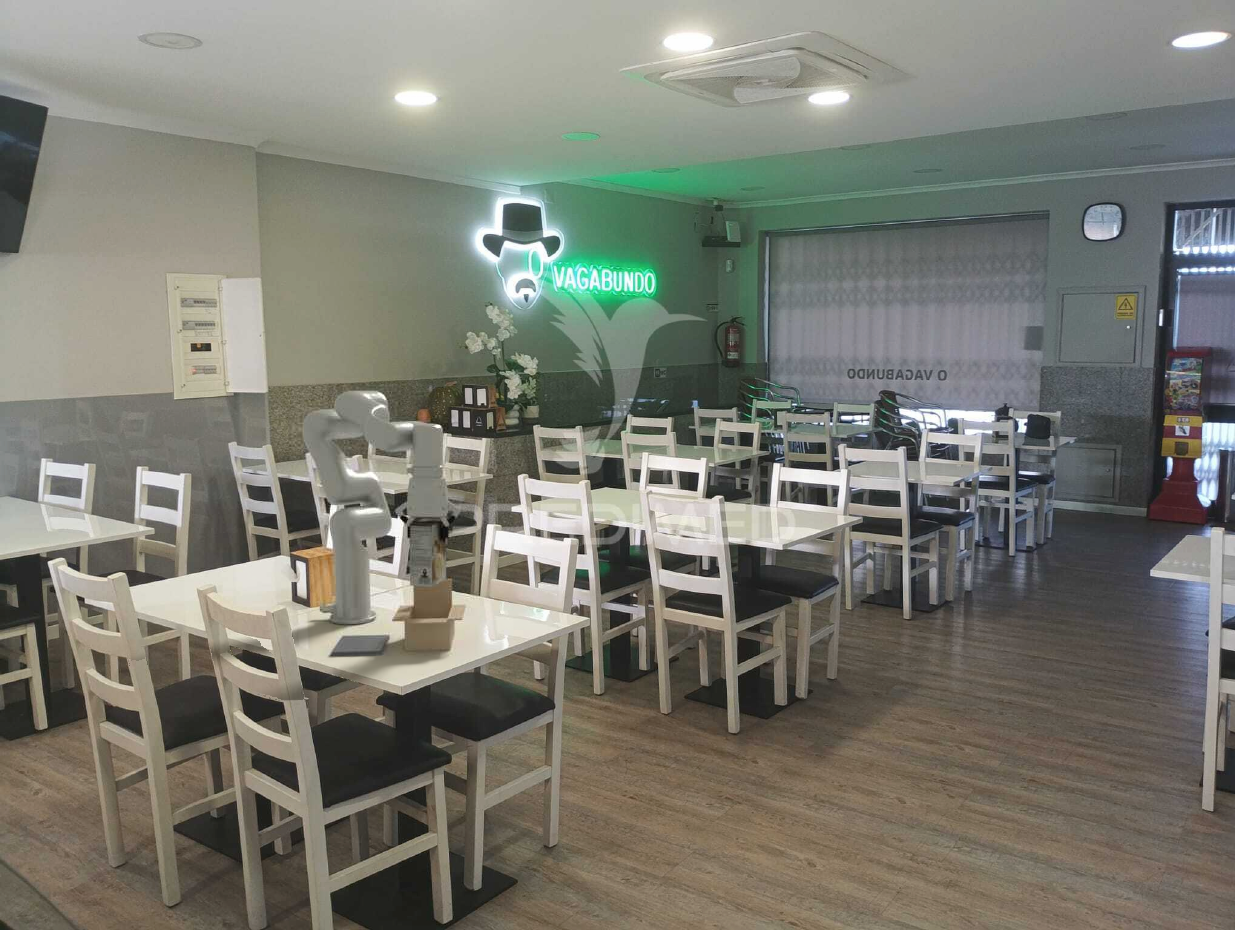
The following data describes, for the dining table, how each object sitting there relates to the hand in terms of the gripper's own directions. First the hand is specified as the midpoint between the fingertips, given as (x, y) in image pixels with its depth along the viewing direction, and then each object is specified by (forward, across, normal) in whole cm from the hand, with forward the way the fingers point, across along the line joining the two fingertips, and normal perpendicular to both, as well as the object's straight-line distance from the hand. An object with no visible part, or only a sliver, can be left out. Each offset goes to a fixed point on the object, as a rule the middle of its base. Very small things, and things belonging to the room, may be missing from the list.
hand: (428, 540), depth 241 cm
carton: (+27, +1, -2) cm, 27 cm away
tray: (+27, -16, -4) cm, 32 cm away
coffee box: (+11, 0, 0) cm, 11 cm away
